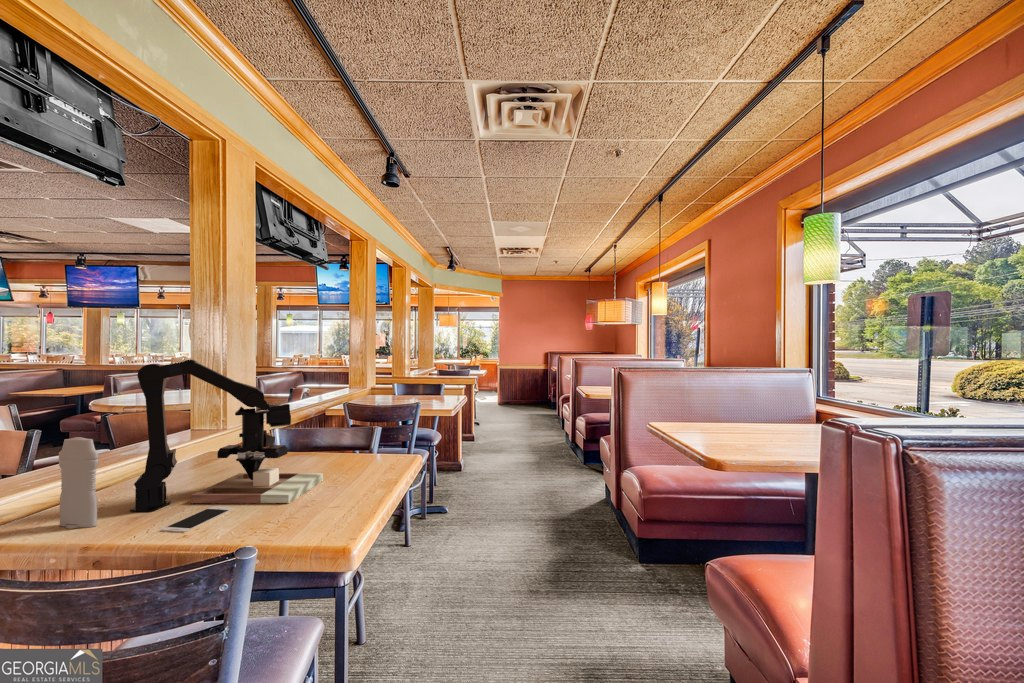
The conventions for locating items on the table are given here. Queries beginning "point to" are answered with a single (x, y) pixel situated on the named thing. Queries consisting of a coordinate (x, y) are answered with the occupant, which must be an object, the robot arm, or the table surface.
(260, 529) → the table surface
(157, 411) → the robot arm
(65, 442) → the tall pale column
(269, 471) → the block
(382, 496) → the table surface
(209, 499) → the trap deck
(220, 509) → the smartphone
